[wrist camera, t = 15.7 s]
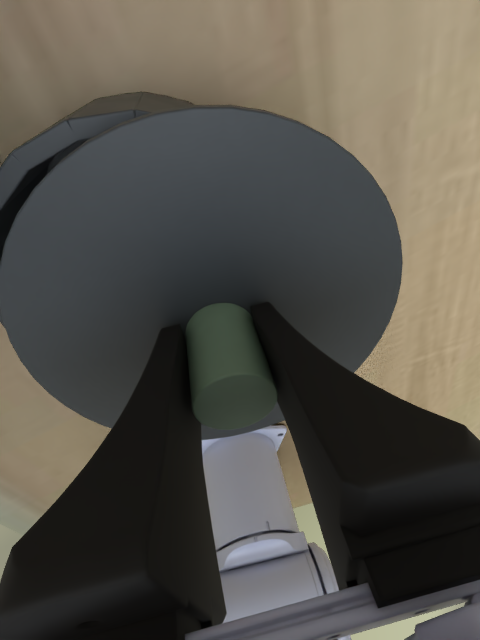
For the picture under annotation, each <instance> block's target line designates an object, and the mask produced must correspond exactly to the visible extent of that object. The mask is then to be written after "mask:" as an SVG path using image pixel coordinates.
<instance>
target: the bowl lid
mask: <svg viewBox="0 0 480 640" xmlns="http://www.w3.org/2000/svg"><path fill="white" fill-rule="evenodd" d="M401 275H402V249H401V240H400V235H399V231H398V227H397V223H396V219H395V216H394V214H393V212H392V209H391V207H390V205H389V202H388V200H387V198H386V196H385V194H384V193H383V191H382V190H381V188H380V187H379V185H378V184H377V182H376V181H375V179H374V178H373V176H372V175H371V174H370V173H369V172H368V170H367V169H366V168H365V167H364V166H363V165H362V164H361V163H360V162H359V161H358V160H357V159H356V158H355V157H354V156H353V155H352V154H351V153H350V152H348V151H347V150H346V149H344V148H343V147H341V146H340V145H339V144H337V143H336V142H335V141H333V140H332V139H331V138H329V137H328V136H326V135H324V134H322V133H320V132H318V131H316V130H314V129H312V128H310V127H308V126H306V125H304V124H302V123H300V122H298V121H296V120H293V119H290V118H287V117H284V116H281V115H278V114H274V113H271V112H268V111H265V110H259V109H253V108H246V107H240V106H233V105H191V106H185V107H179V108H172V109H166V110H160V111H155V112H152V113H149V114H146V115H143V116H140V117H137V118H134V119H131V120H128V121H125V122H122V123H120V124H118V125H116V126H114V127H112V128H110V129H108V130H106V131H104V132H102V133H100V134H98V135H96V136H94V137H92V138H90V139H89V140H87V141H86V142H85V143H83V144H82V145H81V146H79V147H78V148H77V149H75V150H74V151H72V152H71V153H70V154H68V155H67V156H66V157H64V158H63V159H62V160H61V161H60V162H59V163H58V164H57V165H56V166H55V167H54V168H53V169H52V170H51V171H50V172H49V173H48V174H47V175H46V176H45V177H44V178H43V179H42V180H41V182H40V183H39V184H38V185H37V186H36V187H35V188H34V189H33V191H32V192H31V194H30V195H29V197H28V198H27V200H26V201H25V203H24V204H23V206H22V207H21V209H20V210H19V212H18V213H17V215H16V217H15V220H14V222H13V224H12V227H11V229H10V231H9V234H8V236H7V238H6V241H5V244H4V249H3V253H2V258H1V263H0V307H1V313H2V319H3V322H4V325H5V328H6V331H7V334H8V337H9V340H10V342H11V344H12V346H13V348H14V349H15V351H16V353H17V355H18V357H19V359H20V360H21V362H22V363H23V365H24V366H25V367H26V368H27V370H28V371H29V372H30V374H31V375H32V376H33V378H34V379H35V380H36V381H37V382H38V383H39V384H40V385H41V386H42V387H43V388H44V389H45V390H46V391H47V392H48V393H49V394H51V395H52V396H53V397H55V398H56V399H57V400H59V401H60V402H61V403H62V404H64V405H65V406H67V407H68V408H70V409H72V410H73V411H75V412H77V413H78V414H80V415H82V416H83V417H85V418H88V419H90V420H92V421H94V422H96V423H98V424H101V425H103V426H106V427H109V428H113V426H114V425H115V423H116V421H117V420H118V418H119V417H120V415H121V413H122V412H123V410H124V408H125V406H126V405H127V403H128V401H129V399H130V397H131V395H132V393H133V391H134V389H135V388H136V386H137V384H138V382H139V380H140V378H141V375H142V373H143V371H144V369H145V366H146V364H147V362H148V360H149V357H150V355H151V352H152V350H153V347H154V345H155V342H156V340H157V337H158V334H159V332H160V330H161V329H162V328H165V327H169V326H173V325H177V324H180V327H181V329H182V332H183V334H184V337H185V340H186V345H187V357H188V368H189V380H190V392H191V404H192V411H193V414H194V416H195V417H196V419H197V420H198V421H199V422H200V423H201V436H202V440H209V439H218V438H224V437H231V436H236V435H240V434H244V433H249V432H252V431H256V430H259V429H262V428H265V427H268V426H271V425H273V424H276V423H279V422H281V421H284V420H285V418H284V416H283V414H282V411H281V409H280V407H279V404H278V402H277V398H278V391H277V387H276V384H275V382H274V379H273V376H272V373H271V370H270V367H269V364H268V361H267V358H266V355H265V353H264V350H263V347H262V345H261V342H260V340H259V337H258V334H257V331H256V328H255V325H254V322H253V318H252V313H251V308H250V306H253V305H257V304H261V303H265V302H269V303H271V304H272V305H273V306H274V307H275V309H276V310H277V311H278V312H279V313H280V314H281V315H282V316H283V317H284V318H285V319H286V320H287V321H288V322H289V323H290V324H291V325H292V326H293V327H294V328H295V329H296V330H297V331H298V332H299V333H301V334H302V335H303V336H304V337H305V338H306V339H307V340H309V341H310V342H311V343H312V344H313V345H315V346H316V347H317V348H318V349H320V350H321V351H322V352H324V353H325V354H326V355H328V356H329V357H330V358H332V359H333V360H335V361H336V362H337V363H339V364H340V365H342V366H343V367H345V368H346V369H348V370H349V371H351V372H353V373H354V372H355V371H356V370H357V369H358V368H359V367H360V366H361V365H362V363H363V362H364V361H365V360H366V358H367V357H368V356H369V355H370V354H371V352H372V351H373V349H374V348H375V346H376V345H377V343H378V342H379V340H380V339H381V337H382V335H383V333H384V331H385V329H386V327H387V325H388V323H389V321H390V319H391V316H392V313H393V311H394V308H395V305H396V302H397V298H398V294H399V289H400V285H401Z"/></svg>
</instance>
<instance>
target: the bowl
mask: <svg viewBox="0 0 480 640" xmlns="http://www.w3.org/2000/svg"><path fill="white" fill-rule="evenodd" d="M191 105H194V104H192V103H189V102H188V101H184V100H180V99H176V98H173V97H169V96H165V95H158V94H153V93H148V92H136V93H126V94H120V95H114V96H109V97H102V98H98V99H95V100H93V101H92V102H90V103H88V104H87V105H85V106H83V107H82V108H80V109H78V110H76V111H75V112H73V113H72V114H70V115H68V116H67V117H65V118H63V119H62V120H60V121H58V122H57V123H55V124H54V125H52V126H51V127H49V128H47V129H46V130H44V131H43V132H41V133H40V134H38V135H37V136H35V137H33V138H32V139H30V140H29V141H27V142H26V143H24V144H23V145H21V146H20V147H18V148H16V149H15V150H13V151H12V152H11V153H10V154H9V155H8V157H7V158H6V160H5V161H4V163H3V164H2V166H1V167H0V263H1V258H2V253H3V249H4V244H5V241H6V238H7V236H8V234H9V231H10V229H11V227H12V224H13V222H14V220H15V217H16V215H17V213H18V212H19V210H20V209H21V207H22V206H23V204H24V203H25V201H26V200H27V198H28V197H29V195H30V194H31V192H32V191H33V189H34V188H35V187H36V186H37V185H38V184H39V183H40V182H41V180H42V179H43V178H44V177H45V176H46V175H47V174H48V173H49V172H50V171H51V170H52V169H53V168H54V167H55V166H56V165H57V164H58V163H59V162H60V161H61V160H62V159H63V158H64V157H66V156H67V155H68V154H70V153H71V152H72V151H74V150H75V149H77V148H78V147H79V146H81V145H82V144H83V143H85V142H86V141H87V140H89V139H90V138H92V137H94V136H96V135H98V134H100V133H102V132H104V131H106V130H108V129H110V128H112V127H114V126H116V125H118V124H120V123H122V122H125V121H128V120H131V119H134V118H137V117H140V116H143V115H146V114H149V113H152V112H155V111H160V110H166V109H172V108H179V107H185V106H191ZM0 322H1V323H2V325H3V326H4V328H5V325H4V322H3V319H2V313H1V307H0ZM5 329H6V328H5Z"/></svg>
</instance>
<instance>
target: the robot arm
mask: <svg viewBox="0 0 480 640" xmlns="http://www.w3.org/2000/svg"><path fill="white" fill-rule="evenodd" d="M250 308H251V313H252V318H253V322H254V325H255V328H256V331H257V334H258V337H259V340H260V342H261V345H262V347H263V350H264V353H265V355H266V358H267V361H268V364H269V367H270V370H271V373H272V376H273V379H274V382H275V384H276V387H277V391H278V398H277V402H278V404H279V407H280V409H281V411H282V414H283V416H284V418H285V421H286V423H287V425H288V428H289V430H290V433H291V436H292V438H293V441H294V444H295V447H296V450H297V453H298V456H299V460H300V463H301V466H302V469H303V472H304V475H305V479H306V482H307V485H308V488H309V492H310V495H311V498H312V501H313V504H314V508H315V511H316V514H317V518H318V521H319V524H320V527H321V531H322V534H323V538H324V541H325V544H326V548H327V551H328V554H329V558H330V561H331V563H330V561H329V559H328V557H327V555H326V553H325V551H324V550H322V549H321V548H320V547H318V546H317V544H316V543H314V542H313V543H309V544H307V541H306V538H305V535H304V532H299V528H298V525H297V521H296V518H295V514H294V511H293V508H292V504H291V501H290V497H289V494H288V490H287V487H286V483H285V480H284V476H283V473H282V469H281V466H280V463H279V459H278V456H277V451H278V448H279V446H280V444H281V442H282V440H283V438H284V436H285V434H286V431H287V429H286V426H284V425H275V426H268V427H265V428H262V429H259V430H256V431H252V432H249V433H244V434H240V435H236V436H231V437H224V438H218V439H209V440H202V436H201V423H200V422H199V421H198V420H197V419H196V417H195V416H194V414H193V411H192V404H191V392H190V380H189V368H188V357H187V345H186V340H185V337H184V334H183V332H182V329H181V327H180V324H177V325H173V326H169V327H165V328H162V329H161V330H160V332H159V334H158V337H157V340H156V342H155V345H154V347H153V350H152V352H151V355H150V357H149V360H148V362H147V364H146V366H145V369H144V371H143V373H142V375H141V378H140V380H139V382H138V384H137V386H136V388H135V389H134V391H133V393H132V395H131V397H130V399H129V401H128V403H127V405H126V406H125V408H124V410H123V412H122V413H121V415H120V417H119V418H118V420H117V421H116V423H115V425H114V426H113V428H112V429H111V431H110V432H109V434H108V435H107V437H106V438H105V440H104V441H103V442H102V444H101V445H100V447H99V448H98V450H97V451H96V452H95V454H94V455H93V457H92V458H91V459H90V461H89V462H88V463H87V464H86V466H85V467H84V468H83V470H82V471H81V472H80V473H79V474H78V476H77V477H76V478H75V479H74V480H73V482H72V483H71V484H70V485H69V487H68V488H67V489H66V490H65V491H64V492H63V494H62V495H61V496H60V497H59V498H58V499H57V500H56V502H55V503H54V504H53V505H52V506H51V507H50V508H49V509H48V510H47V511H46V513H45V514H44V515H43V516H42V517H41V518H40V519H39V520H38V521H37V522H36V523H35V524H34V525H33V526H32V527H31V528H30V529H29V530H28V531H27V533H26V534H25V535H24V536H23V537H22V538H21V539H20V540H19V541H18V542H17V543H16V544H15V545H14V546H13V547H12V549H11V552H10V555H9V558H8V560H7V563H6V566H5V568H4V572H3V575H2V578H1V582H0V640H351V637H350V635H352V634H355V633H359V632H362V631H366V630H369V629H372V628H376V627H380V626H383V625H387V624H390V623H394V622H397V621H401V620H404V619H408V618H411V617H415V616H418V615H422V614H425V613H429V612H432V611H436V610H439V609H443V608H446V607H450V606H453V605H457V604H460V603H463V602H466V603H465V605H464V607H461V608H459V609H456V610H454V611H451V612H448V613H445V614H443V615H440V616H438V617H435V618H432V619H430V620H427V621H425V622H422V623H419V624H417V625H416V627H415V633H414V634H412V635H411V636H409V637H407V638H406V639H404V640H480V440H479V439H478V438H477V437H476V436H475V435H474V434H473V433H472V432H471V431H469V430H468V428H467V427H466V426H465V425H463V424H460V423H458V422H455V421H452V420H450V419H447V418H445V417H442V416H440V415H437V414H435V413H432V412H430V411H427V410H425V409H422V408H420V407H417V406H415V405H413V404H411V403H409V402H407V401H404V400H402V399H400V398H398V397H396V396H394V395H392V394H390V393H388V392H387V391H385V390H383V389H381V388H379V387H377V386H375V385H373V384H371V383H370V382H368V381H366V380H364V379H363V378H361V377H359V376H358V375H356V374H354V373H353V372H351V371H349V370H348V369H346V368H345V367H343V366H342V365H340V364H339V363H337V362H336V361H335V360H333V359H332V358H330V357H329V356H328V355H326V354H325V353H324V352H322V351H321V350H320V349H318V348H317V347H316V346H315V345H313V344H312V343H311V342H310V341H309V340H307V339H306V338H305V337H304V336H303V335H302V334H301V333H299V332H298V331H297V330H296V329H295V328H294V327H293V326H292V325H291V324H290V323H289V322H288V321H287V320H286V319H285V318H284V317H283V316H282V315H281V314H280V313H279V312H278V311H277V310H276V309H275V307H274V306H273V305H272V304H271V303H269V302H265V303H261V304H257V305H253V306H250Z"/></svg>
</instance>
